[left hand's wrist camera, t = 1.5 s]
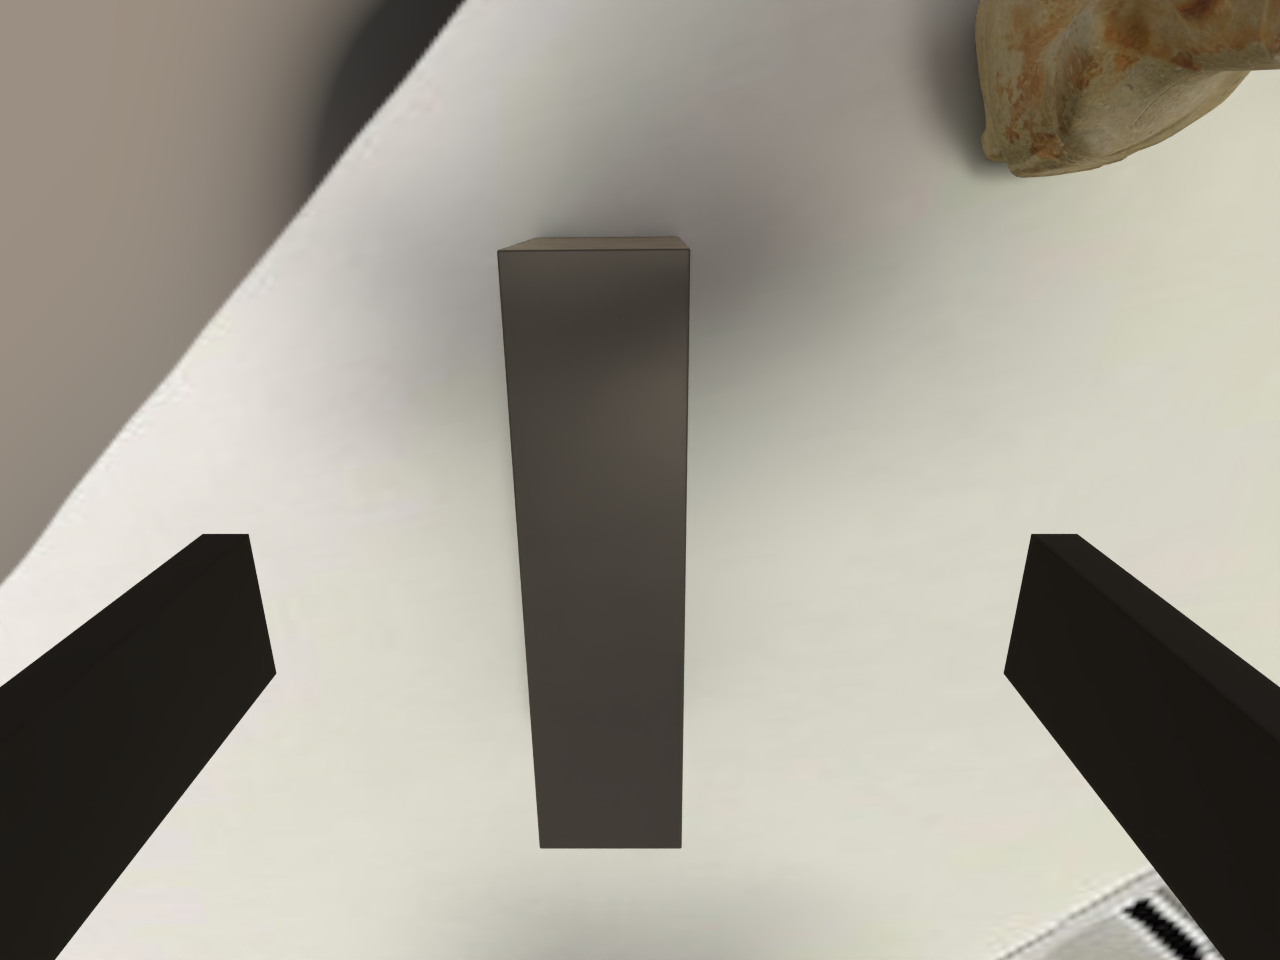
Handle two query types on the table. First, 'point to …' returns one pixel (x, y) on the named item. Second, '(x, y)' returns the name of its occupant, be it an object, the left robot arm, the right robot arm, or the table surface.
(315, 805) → the table surface
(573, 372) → the bar
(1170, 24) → the sculpture
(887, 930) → the table surface
